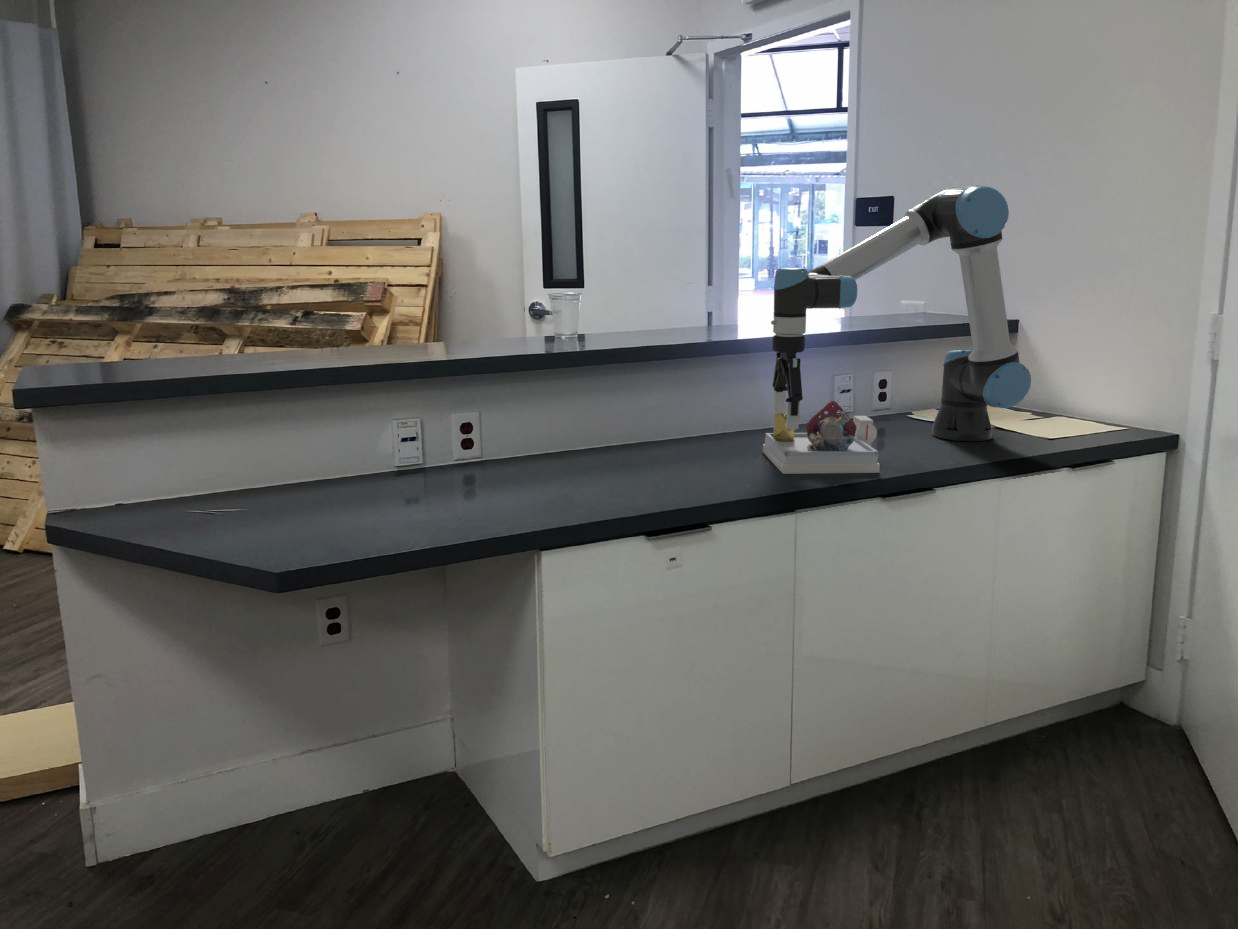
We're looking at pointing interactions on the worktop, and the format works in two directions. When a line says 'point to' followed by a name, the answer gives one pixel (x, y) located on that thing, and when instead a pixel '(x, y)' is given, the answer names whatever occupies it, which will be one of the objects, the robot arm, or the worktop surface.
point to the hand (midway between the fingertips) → (785, 423)
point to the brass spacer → (782, 429)
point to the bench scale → (826, 453)
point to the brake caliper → (831, 429)
